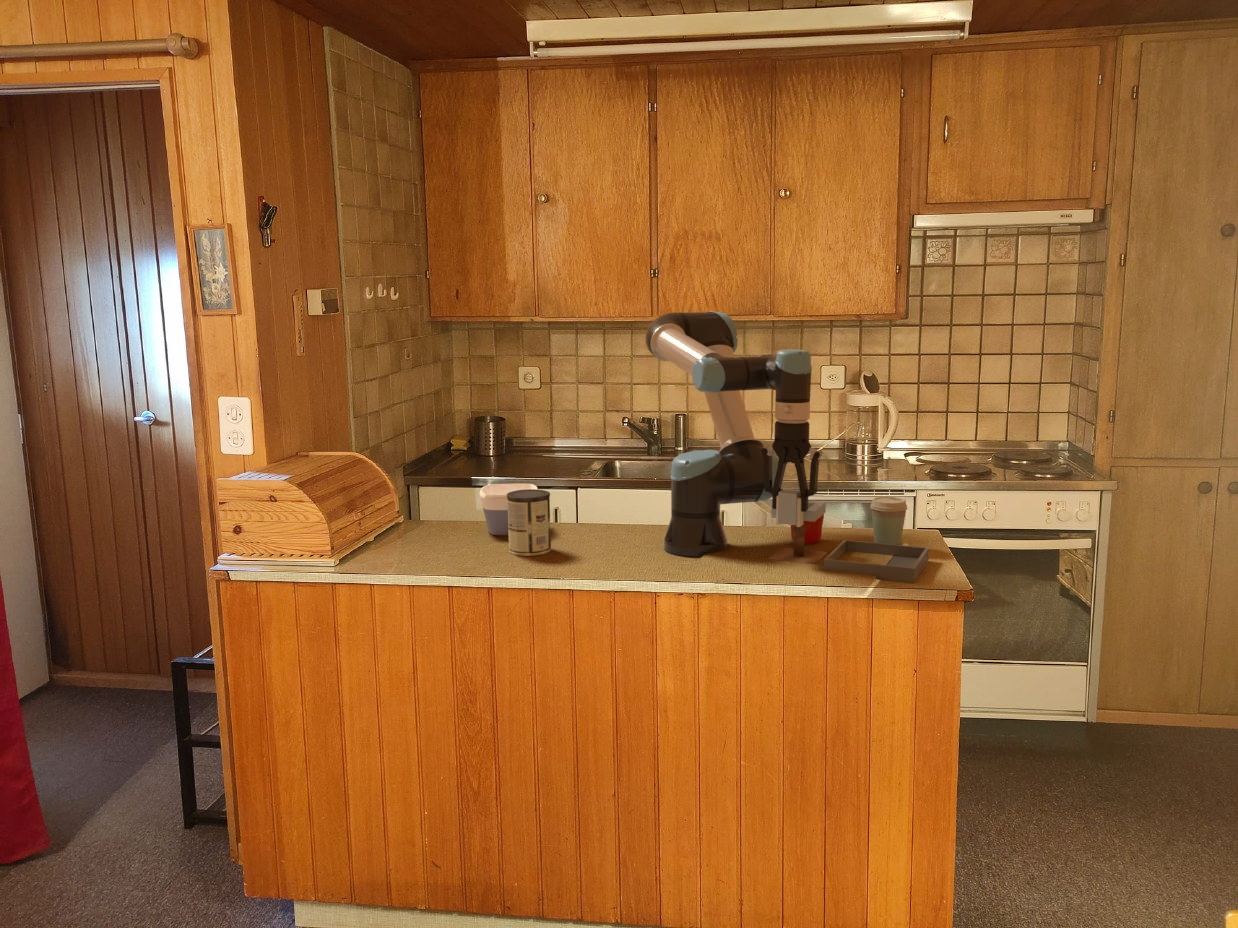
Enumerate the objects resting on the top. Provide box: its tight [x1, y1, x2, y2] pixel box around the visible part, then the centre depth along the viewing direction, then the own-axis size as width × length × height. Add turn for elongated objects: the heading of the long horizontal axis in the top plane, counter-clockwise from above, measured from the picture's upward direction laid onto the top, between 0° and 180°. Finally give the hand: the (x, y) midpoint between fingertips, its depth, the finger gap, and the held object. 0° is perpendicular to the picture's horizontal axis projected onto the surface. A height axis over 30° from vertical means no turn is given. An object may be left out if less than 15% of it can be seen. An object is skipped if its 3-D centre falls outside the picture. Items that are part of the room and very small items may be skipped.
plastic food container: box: [479, 483, 539, 537], centre depth 269 cm, size 15×15×11 cm
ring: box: [770, 488, 827, 526], centre depth 236 cm, size 10×15×7 cm, turn 155°
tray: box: [823, 539, 930, 584], centre depth 232 cm, size 19×19×3 cm
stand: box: [768, 521, 828, 565], centre depth 239 cm, size 11×11×10 cm
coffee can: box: [507, 489, 552, 557], centre depth 248 cm, size 10×10×14 cm
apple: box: [790, 513, 825, 545], centre depth 252 cm, size 9×8×12 cm
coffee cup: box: [870, 496, 908, 545], centre depth 247 cm, size 8×8×12 cm
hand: (789, 524), depth 232 cm, fingers closed on ring, 4 cm apart
